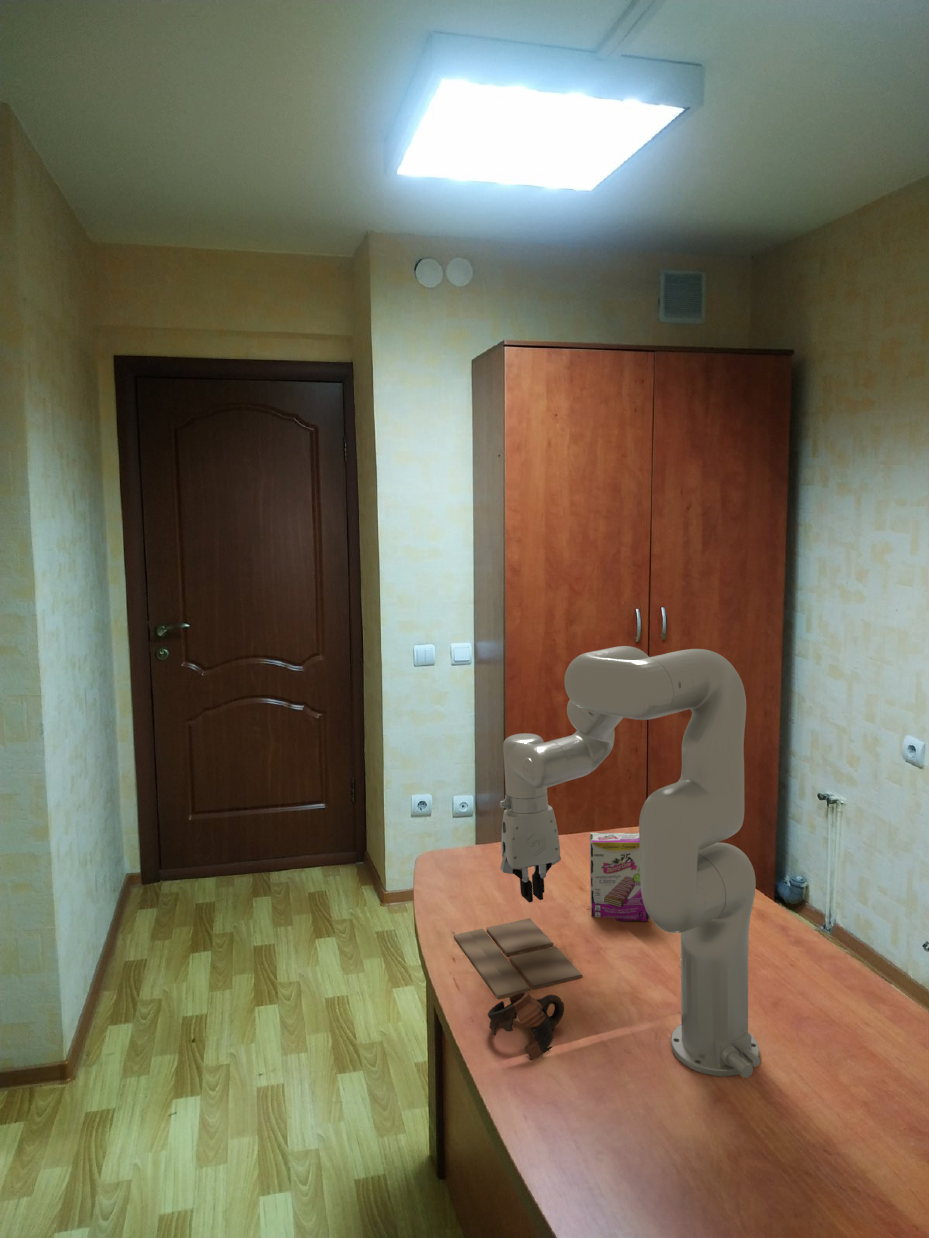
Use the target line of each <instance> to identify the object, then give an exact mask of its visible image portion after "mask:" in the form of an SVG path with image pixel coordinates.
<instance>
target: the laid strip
mask: <svg viewBox="0 0 929 1238" xmlns="http://www.w3.org/2000/svg"><path fill="white" fill-rule="evenodd" d="M453 939H454V940H455V941H456V942H457V944H458V946H459V947H460V948H461V950H462V951H463V953H464V954H465V956H467V958H468V960H469V961H470V962H471V964H472V965H473V966H474V967H475V969H476V970H477V972H478V973H479V975H480V976H481V977H482V979H483V981H484V982H485V983H486V985H487V986H488V988H489V989H490V990H491V992H492V993H493V994H494V995H495V997H496V999H497V1000H499V999H504V998H506V997H508V998H509V997H511V996H513V995H515V994H518V993H520V992H524V991H528V992H530V991H531V986H530V985H528V982H527V981H526V980H525V979H524V977H523V976H522V975H521V974H520V972H519V971H517V970H516V967H515V966H514V965H512V962H511V961H509V959H508V957H507V956H506V955H505V954H504V952H503V951H502V950H501V949H500V947H499V946H497V944H496V942H495V941H494V940H493V939H492V937H491V936H490V935H489V934H488V932H487V931H485V930H484V928H478V929H475V930H471V931H465V932H461V933H456V934H454V935H453Z"/></svg>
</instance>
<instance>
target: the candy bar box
mask: <svg viewBox="0 0 929 1238" xmlns="http://www.w3.org/2000/svg"><path fill="white" fill-rule="evenodd" d="M589 859H590V860H589V862H590V863H589V865H590V869H589V870H590V871H589V874H590V875H589V876H590V914H591V917H592V918H613V919H614V920H616V921H617V922H649V921H650V920H649V918H650V917H649V915H648V913H647V911H646V909H645V906H644V903H643V899H642V893H641V882H640V847H639V832H589Z"/></svg>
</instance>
